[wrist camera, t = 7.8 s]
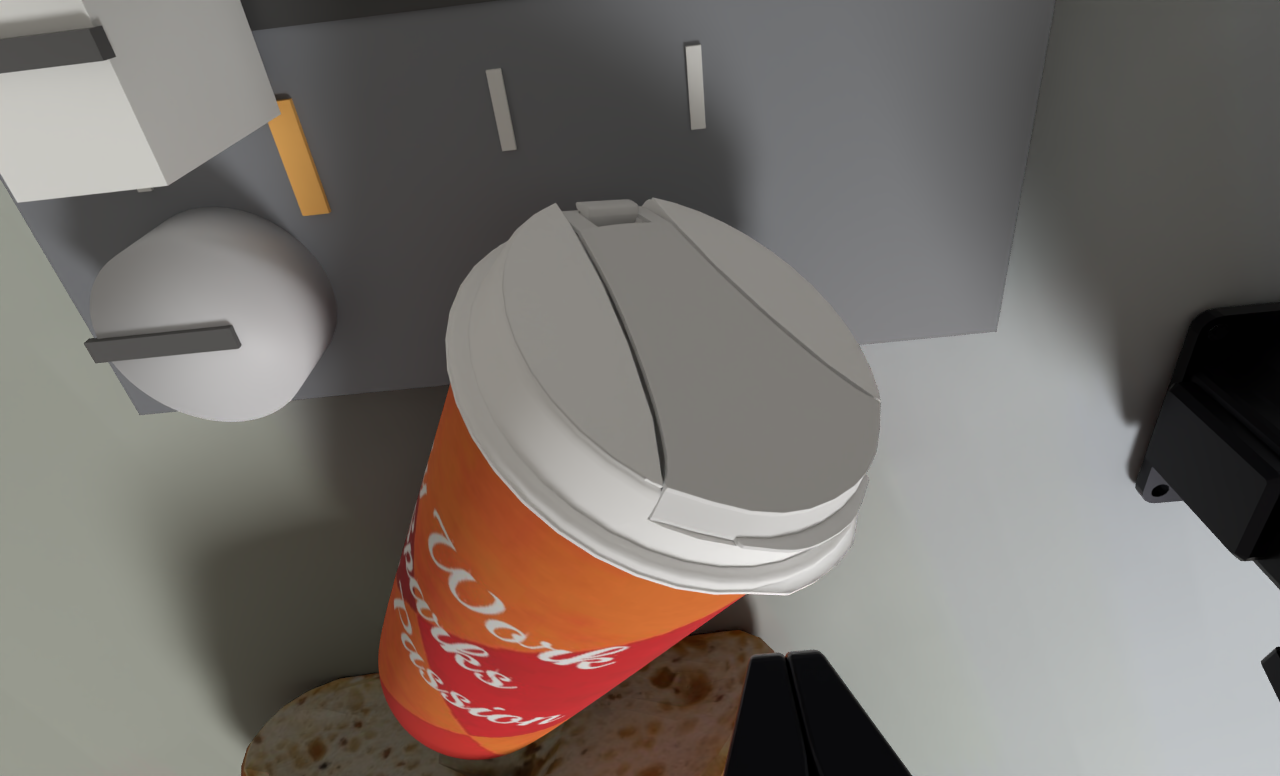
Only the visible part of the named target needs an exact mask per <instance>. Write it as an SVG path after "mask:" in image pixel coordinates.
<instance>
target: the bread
mask: <svg viewBox="0 0 1280 776" xmlns="http://www.w3.org/2000/svg"><path fill="white" fill-rule="evenodd" d="M765 653H775V652H774V651H773V650H772V649H771V648H770V647H769V646H768V645H767V644H766V643H765V642H764V641H763V640H762V639H761V638H759V637H756V636H754V635H751V634H749V633H746V632H743V631H741V630H733V631H724V632H716V633H707V634H700V635H692V636H686V637H685V638H683V639H682V640H681V641H679V642H678V643H676V644H675V645H674V646H672V647H671V648H669V649H668V650H667V651H665V652H664V653H662V654H661V655H659V656H658V657H657V658H655V659H654V660H652V661H651V662H650V663H648V664H647V665H645V666H644V667H643V668H641V669H640V670H638V671H637V672H636V673H634V674H633V675H631V676H630V677H628V678H627V679H626V680H624V681H623V682H621V683H620V684H618V685H617V686H616V687H614V688H613V689H611V690H610V691H608V692H607V693H606V694H604V695H603V696H601V697H600V698H598V699H597V700H596V701H594V702H593V703H591V704H590V705H588V706H587V707H586V708H584V709H583V710H581V711H580V712H578V713H577V714H575V715H574V716H572V717H571V718H569V719H568V720H567V721H565V722H564V723H562V724H561V725H559V726H558V727H556V728H555V729H553V730H552V731H550V732H549V733H547V734H546V735H544V736H542V737H541V738H539V739H538V740H536V741H535V742H533V743H531V744H529V745H527V746H525V747H523V748H522V749H520V750H518V751H515V752H513V753H510V754H507V755H505V756H501V757H497V758H492V759H485V760H466V759H459V758H453V757H450V756H446V755H443V754H441V753H438V752H436V751H434V750H432V749H430V748H428V747H426V746H425V745H423V744H422V743H420V742H419V741H417V740H416V739H415V738H414V737H412V736H411V735H410V734H409V733H408V732H407V731H406V730H405V729H404V728H403V727H402V725H401V724H400V723H399V722H398V720H397V719H396V717H395V716H394V714H393V713H392V711H391V709H390V707H389V705H388V703H387V701H386V699H385V696H384V693H383V690H382V686H381V682H380V676H379V673H374V674H367V675H361V676H355V677H348V678H342V679H338V680H335V681H332V682H330V683H327V684H325V685H322V686H320V687H317V688H315V689H312V690H310V691H307V692H306V693H304V694H303V695H301V696H299V697H298V698H296V699H295V700H293V701H291V702H290V703H288V704H287V705H285V706H284V707H283V708H281V709H280V710H279V711H278V712H277V713H276V714H275V715H274V716H273V717H272V718H271V719H270V720H269V721H268V722H267V723H266V724H265V725H264V726H263V728H262V729H261V730H260V731H259V733H258V734H257V735H256V736H255V738H254V739H253V741H252V742H251V743H250V745H249V746H248V748H247V750H246V753H245V757H244V760H243V763H242V766H241V776H723V773H724V768H725V764H726V759H727V755H728V750H729V746H730V741H731V737H732V732H733V728H734V723H735V719H736V714H737V710H738V705H739V701H740V696H741V692H742V687H743V683H744V678H745V674H746V669H747V665H748V661H749V658H750V657H751V656H752V655H754V654H765Z"/></svg>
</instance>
